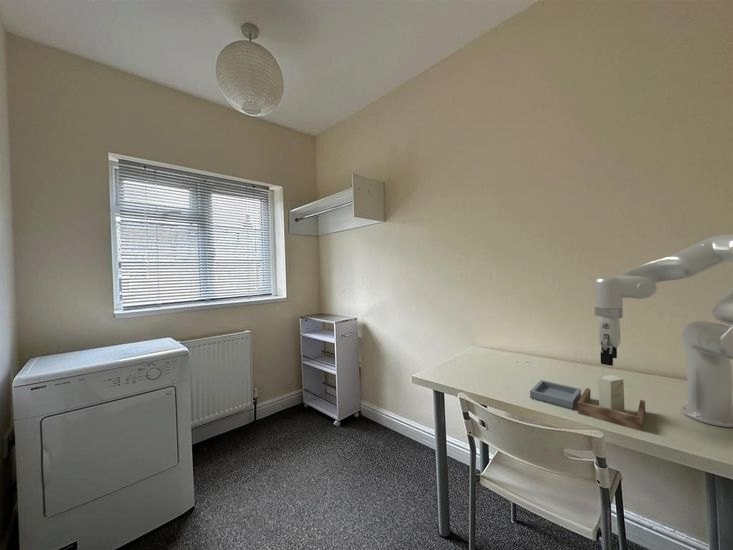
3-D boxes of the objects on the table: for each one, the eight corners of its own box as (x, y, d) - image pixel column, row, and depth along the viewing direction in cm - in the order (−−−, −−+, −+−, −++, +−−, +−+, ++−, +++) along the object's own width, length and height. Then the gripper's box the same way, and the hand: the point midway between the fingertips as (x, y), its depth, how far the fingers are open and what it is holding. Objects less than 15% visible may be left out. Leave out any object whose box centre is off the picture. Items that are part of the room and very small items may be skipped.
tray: (581, 396, 113) (581, 388, 113) (572, 410, 104) (572, 401, 104) (541, 386, 123) (541, 379, 123) (530, 398, 114) (529, 391, 114)
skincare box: (612, 416, 98) (611, 381, 98) (598, 410, 102) (597, 376, 102) (625, 413, 100) (624, 378, 99) (611, 407, 104) (610, 374, 104)
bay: (645, 412, 100) (645, 400, 99) (642, 431, 89) (641, 418, 89) (586, 398, 112) (586, 387, 111) (577, 413, 101) (577, 402, 101)
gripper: (619, 317, 91) (620, 370, 92) (625, 310, 103) (626, 357, 104) (590, 315, 97) (590, 365, 97) (598, 308, 109) (599, 353, 109)
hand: (608, 360), depth 101 cm, fingers open, 9 cm apart
